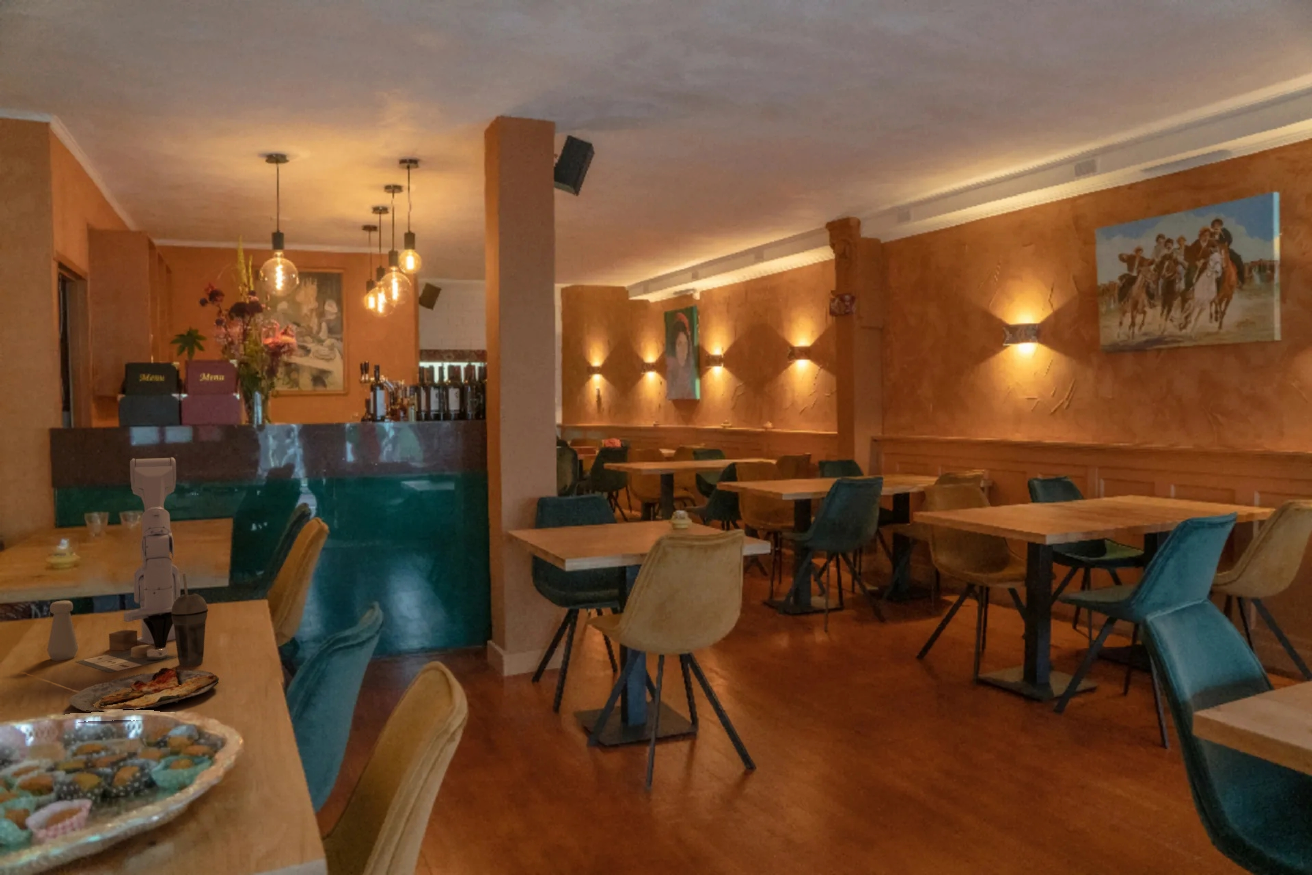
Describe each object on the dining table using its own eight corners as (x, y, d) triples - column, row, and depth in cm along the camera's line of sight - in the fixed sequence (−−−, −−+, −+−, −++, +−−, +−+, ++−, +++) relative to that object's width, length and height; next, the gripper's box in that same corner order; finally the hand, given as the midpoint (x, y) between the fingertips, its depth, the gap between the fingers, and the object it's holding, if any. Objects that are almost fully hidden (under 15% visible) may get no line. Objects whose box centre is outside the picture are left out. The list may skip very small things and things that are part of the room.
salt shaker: (63, 663, 202) (61, 604, 201) (41, 662, 203) (38, 603, 203) (84, 656, 207) (82, 599, 207) (63, 655, 209) (61, 598, 208)
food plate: (187, 672, 192) (186, 655, 192) (241, 693, 178) (240, 675, 178) (51, 705, 173) (50, 687, 173) (99, 732, 158) (97, 712, 158)
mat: (141, 649, 213) (141, 647, 213) (176, 658, 204) (176, 656, 204) (75, 663, 202) (75, 661, 202) (109, 673, 192) (109, 671, 192)
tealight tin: (156, 656, 205) (156, 646, 205) (171, 657, 204) (171, 647, 204) (142, 660, 201) (142, 650, 201) (157, 661, 200) (157, 651, 200)
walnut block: (123, 646, 216) (123, 629, 216) (137, 647, 215) (137, 630, 215) (109, 650, 212) (109, 633, 212) (123, 651, 211) (123, 634, 211)
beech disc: (147, 652, 209) (147, 643, 209) (157, 655, 206) (157, 646, 206) (127, 656, 205) (127, 647, 205) (137, 659, 203) (136, 650, 203)
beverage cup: (217, 661, 201) (214, 570, 200) (190, 670, 194) (187, 576, 193) (191, 659, 203) (188, 569, 203) (164, 668, 196) (161, 575, 196)
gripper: (134, 594, 200) (136, 656, 201) (199, 584, 212) (201, 642, 213) (118, 591, 204) (120, 652, 205) (183, 581, 216) (185, 638, 217)
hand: (160, 647), depth 209 cm, fingers closed
